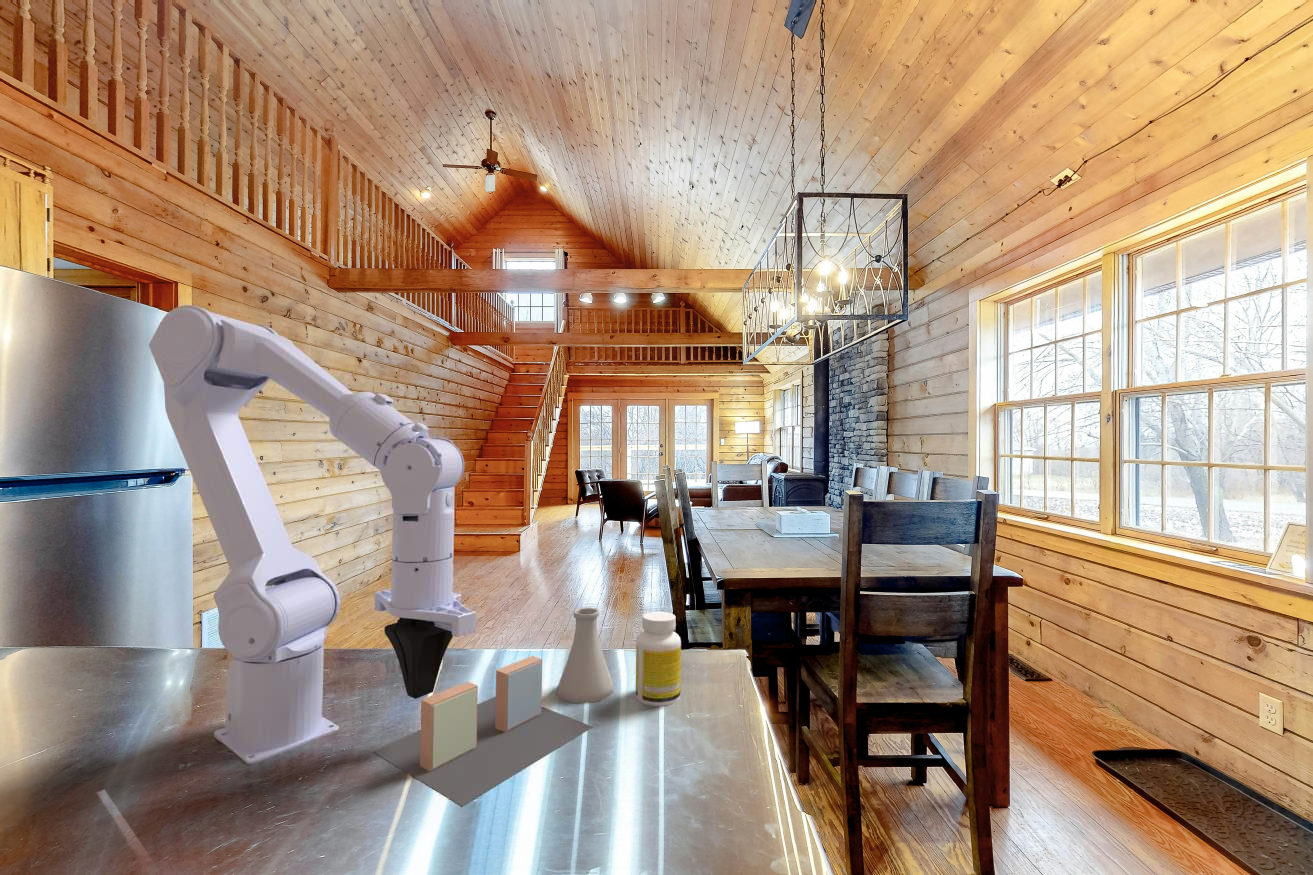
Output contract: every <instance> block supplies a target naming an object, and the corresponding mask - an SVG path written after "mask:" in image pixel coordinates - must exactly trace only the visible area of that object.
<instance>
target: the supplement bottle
mask: <svg viewBox="0 0 1313 875" xmlns="http://www.w3.org/2000/svg"><path fill="white" fill-rule="evenodd" d="M641 619H642V624H641V625H642V629H643V631H641V632H640V633H639V634H638V635H637V637H636V643H635V646H636V647H635V698H636V700H637V701H638V702H640V703H642V704H644V705H648V706H655V707H659V706H660V707H662V706H669V705H673V704H675V703H676V702H678V701H679V700H680V698H681V692H682V690H681V688H682V687H681V686H682V683H681V682H682V680H681V679H682V677H681V676H682V671H681V670H682V641H681V636H679V634H678V633H677V632H675V631H674V630H676V626H677V623H676V622H677V621H676V615H675V614H673V613H671V612H666V611H650V612H646V613H644V614H643V615H642V618H641Z"/></svg>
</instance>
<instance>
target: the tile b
mask: <svg viewBox="0 0 1313 875" xmlns="http://www.w3.org/2000/svg"><path fill="white" fill-rule="evenodd" d="M542 686H543V659H542V658H540V657H537V656H533V655H531V656H528V657H526V658H523V659H522V660H519V661H516V662H514V663H510V664H508V665H505V666H503V667H501V668H498V669H496V670H495V696H496V706H495V728H496V729H498V730H500V731H502V732H505V733H506V732H508V731H510V730H512V729H513V728H515V727H517V726H519V725H521V724H523V723H525V722H527V721H529V720H531V719H533V718H535V717H537V716H538V715H540V714H541V708H542V707H543V706H542V705H543V704H542V702H543V701H542V700H543V699H542V698H543V697H542V696H543V690H542V689H543V687H542Z"/></svg>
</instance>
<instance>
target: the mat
mask: <svg viewBox="0 0 1313 875" xmlns="http://www.w3.org/2000/svg"><path fill="white" fill-rule="evenodd" d="M495 706H496V695H495V696H493V697H491V698H489V699H487V700H484V701H482V702H479V703H477V748H475V749H473V750H471V751H469V752H467V753H465V754H463V755H461V756H460V757H458V758H456V759H454V760H452V761H450V762H448V763H446V764H444V765H442V766H440V767H438V768H436V769H435V770H433V771H431V772H429V771H428V770H426V769H424V768H423V767H421V766H420V735H421V729H419V730H417V731H415V732H412V733H410V734H408V735H406V736H404V737H401V738H398V739H396V740H394V741H392V742H390V743H388V744H385V745H382V746H381V747H379V748H376V749H373V750H372V753H374V754H376V755H377V756H379V757H380V758H382V759H384V760H385V761H386V762H389V763H391V765H393V766H395V767H397V768H398V769H400V770H402V771H403V772H405V773H407V774H408V775H410V776H412V778H415V779H417V780H418V781H419V782H421V783H422V784H425V785H426V786H427V787H429V788H431V789H432V790H434V791H436V792H437V793H439V794H440V795H442V796H444V797H446V798H448V799H449V800H451V802H454V803H456V804H457V805H459V806H460V807H464V806H466V805H467V804H470V803H471V802H472V801H475V800H476V799H478V798H479V797H481V796H483V794H486V793H487V792H489V791H490V790H491V791H492V789H494V788H496V787H497V786H499V785H500V784H503V782H505V781H507V780H509V779H510V778H512V777H514V776H515V775H517V774H519V773H520V772H522V771H524V770H526V768H528V767H530V766H531V765H533V764H534V763H536V762H539V761H540V760H542V759H543V758H545V757H547V756H548V755H549V754H551V753H553V752H554V751H556V750H558V749H560V748H561V747H563V746H565V745H566V744H567V743H569V742H571V741H573V740H574V739H576V738H577V737H579V736H581V735H583V734H584V733H586V732H588V731H589V730H591V729H593V728H594V727H593V726H592V725H590V724H587V723H585V722H583V721H580V720H578V719H575V718H572V717H569V716H566V715H564V714H562V713H559V712H557V711H554V710H551V709H550V708H549V709H548V708H547V707H544V706H542V708H541V714H540V715H538V716H537V717H535V718H533V719H531V720H529V721H527V722H525V723H523V724H521V725H519V726H517V727H515V728H513V729H512V730H510V731H508V732H506V733H505V732H502V731H500V730H498V729H496V728H495Z"/></svg>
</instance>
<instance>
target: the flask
mask: <svg viewBox="0 0 1313 875" xmlns="http://www.w3.org/2000/svg"><path fill="white" fill-rule="evenodd" d="M599 615H600V609H599V608H597V607H596V608H595V607H592V606H591V607H578V608H576V609H574V610H573V618H574V619H575V631H574V635H573V642H572V644H571V647H570V651H569V654H568V658H567V660H566V662H565V665H564V668H563V672H562V675H561V677H560V679H559V682H558V685H557V690H556V698H557V699H561V700H563V701H568V702H569V703H570V702H571V703H574V704H579V703H580V704H582V703H583V704H584V703H585V704H587V703H601V702H603V700H605V699H607V698H608V697H610V696H611V695H613V694H614V692H615V691H614V682H613V680H612V676H611V673H610V670H609V668H608V666H607V661H606V659H605V656H604V653H603V650H602V646H601V643H600V640H599V634H598V627H597V619H598V618H599V617H600V616H599Z"/></svg>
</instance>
